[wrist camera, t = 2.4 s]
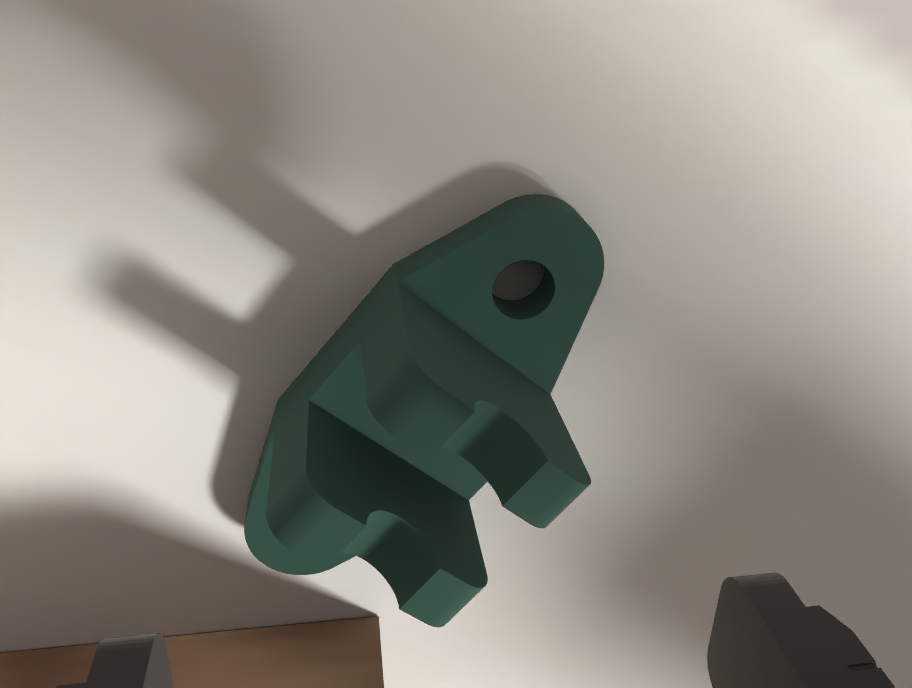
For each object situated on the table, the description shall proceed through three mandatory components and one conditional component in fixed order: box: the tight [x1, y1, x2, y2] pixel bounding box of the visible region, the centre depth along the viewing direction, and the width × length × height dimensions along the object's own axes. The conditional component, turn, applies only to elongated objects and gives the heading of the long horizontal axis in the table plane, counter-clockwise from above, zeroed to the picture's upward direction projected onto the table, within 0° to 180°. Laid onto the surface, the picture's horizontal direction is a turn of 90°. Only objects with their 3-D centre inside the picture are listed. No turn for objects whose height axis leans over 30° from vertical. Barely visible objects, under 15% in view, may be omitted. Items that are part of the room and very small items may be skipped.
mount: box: [244, 194, 604, 627], centre depth 17 cm, size 11×4×5 cm, turn 139°
